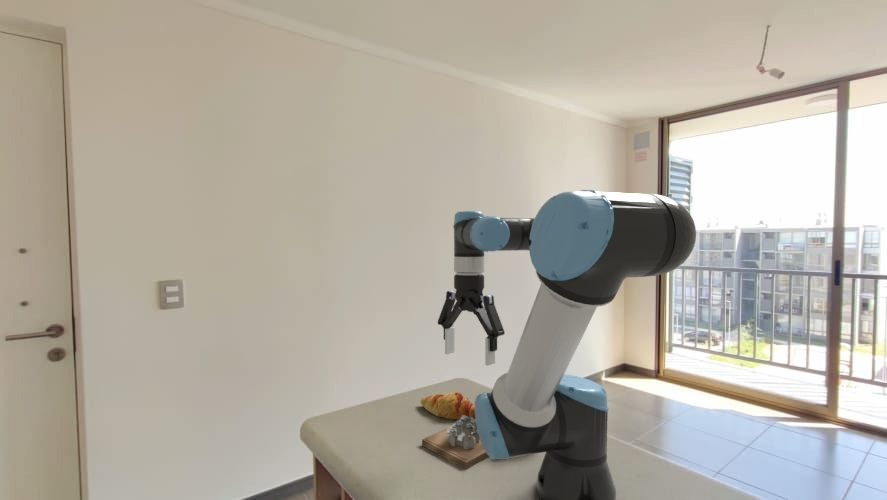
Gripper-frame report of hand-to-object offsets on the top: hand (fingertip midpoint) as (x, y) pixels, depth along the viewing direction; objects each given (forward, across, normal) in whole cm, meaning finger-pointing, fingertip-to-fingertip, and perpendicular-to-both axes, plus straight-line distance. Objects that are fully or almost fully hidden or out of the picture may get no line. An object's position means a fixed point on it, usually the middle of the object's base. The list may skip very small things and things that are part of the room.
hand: (469, 358), depth 103 cm
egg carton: (+20, 0, +1) cm, 20 cm away
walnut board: (+22, 0, 0) cm, 22 cm away
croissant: (+22, +16, -10) cm, 29 cm away
